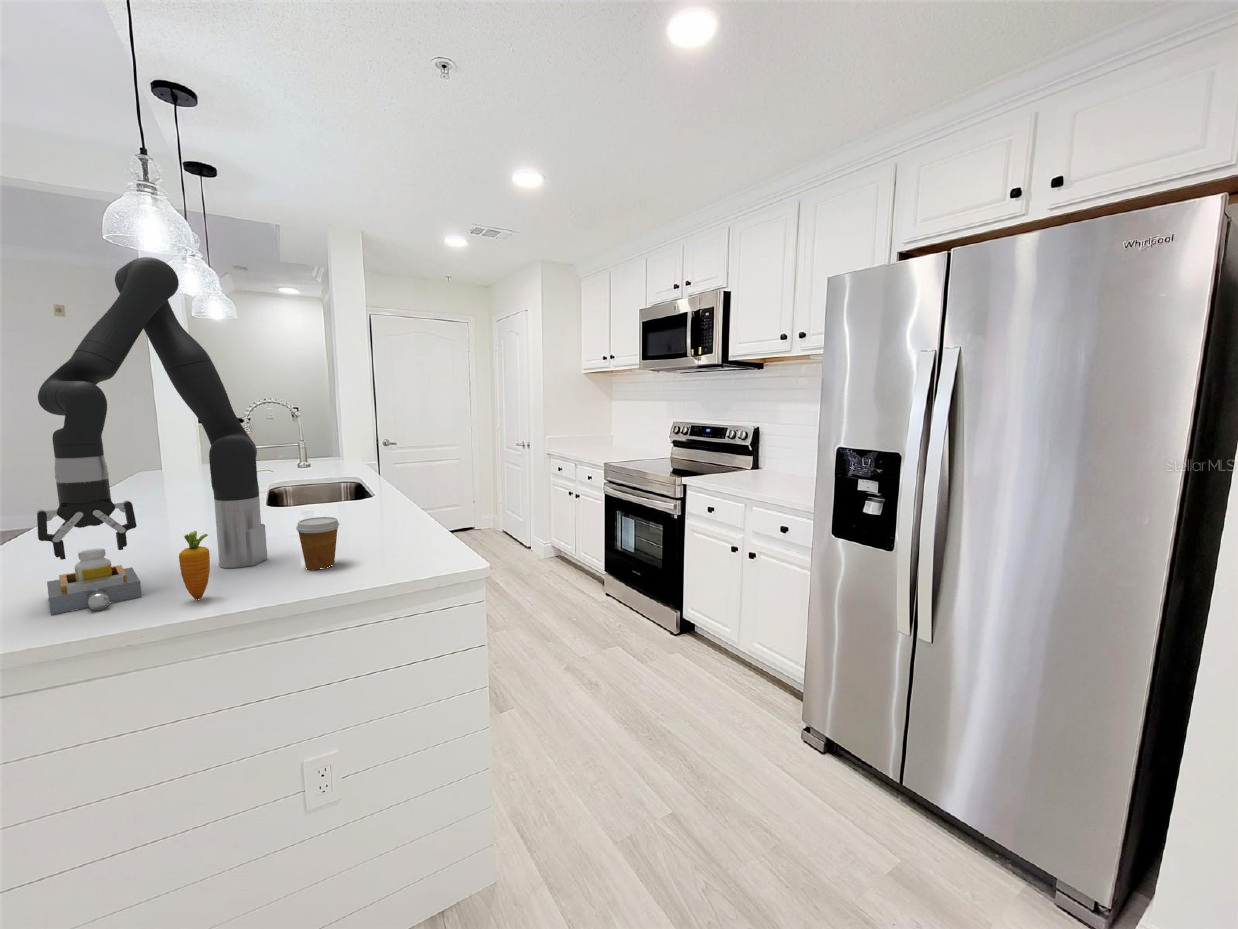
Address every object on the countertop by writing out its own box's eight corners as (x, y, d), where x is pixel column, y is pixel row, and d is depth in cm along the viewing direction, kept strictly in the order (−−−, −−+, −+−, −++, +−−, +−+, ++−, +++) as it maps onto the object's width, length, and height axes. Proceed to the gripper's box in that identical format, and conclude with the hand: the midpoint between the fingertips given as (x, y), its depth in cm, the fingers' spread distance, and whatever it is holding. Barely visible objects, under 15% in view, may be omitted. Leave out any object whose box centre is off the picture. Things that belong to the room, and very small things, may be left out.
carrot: (194, 595, 110) (188, 527, 108) (218, 595, 110) (213, 527, 108) (176, 605, 105) (170, 534, 103) (202, 604, 105) (196, 533, 103)
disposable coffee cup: (295, 574, 124) (292, 526, 122) (301, 563, 132) (299, 518, 131) (339, 570, 128) (337, 523, 126) (342, 559, 136) (340, 515, 135)
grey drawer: (133, 582, 117) (131, 561, 116) (144, 602, 106) (142, 578, 105) (48, 597, 107) (46, 574, 106) (51, 621, 96) (48, 596, 95)
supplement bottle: (121, 591, 111) (116, 547, 110) (93, 600, 106) (88, 555, 105) (98, 589, 112) (94, 546, 111) (70, 599, 106) (65, 553, 105)
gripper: (127, 472, 113) (135, 543, 115) (29, 480, 102) (40, 558, 104) (132, 476, 108) (141, 550, 110) (31, 484, 98) (42, 566, 100)
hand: (92, 554), depth 107 cm, fingers open, 8 cm apart
